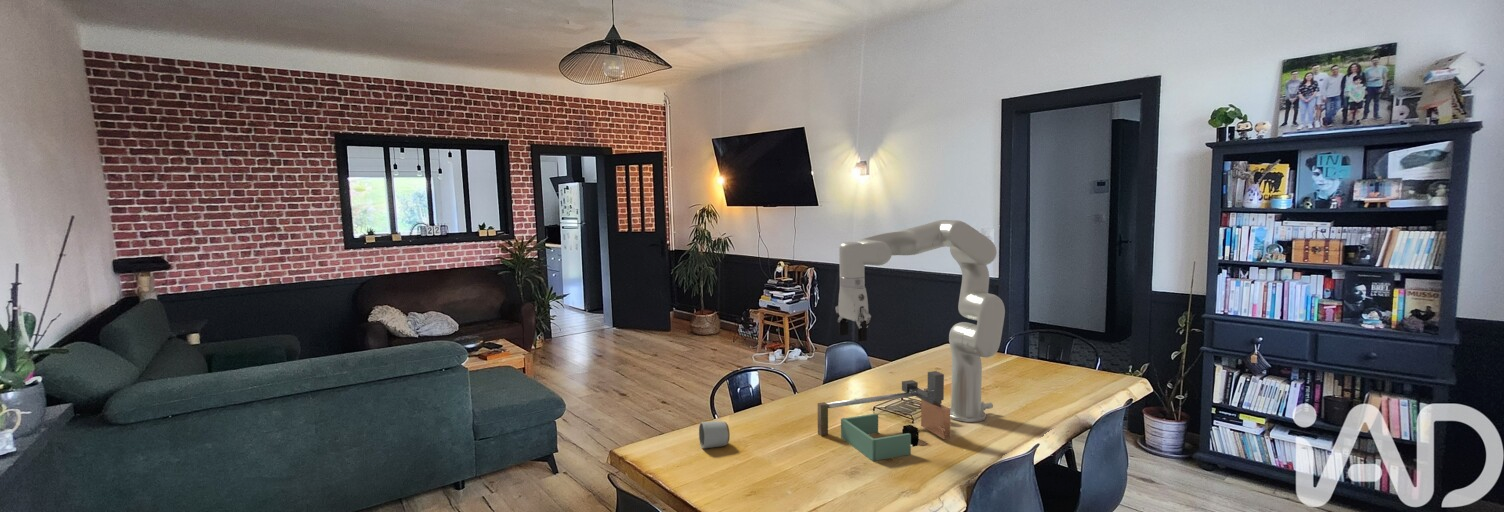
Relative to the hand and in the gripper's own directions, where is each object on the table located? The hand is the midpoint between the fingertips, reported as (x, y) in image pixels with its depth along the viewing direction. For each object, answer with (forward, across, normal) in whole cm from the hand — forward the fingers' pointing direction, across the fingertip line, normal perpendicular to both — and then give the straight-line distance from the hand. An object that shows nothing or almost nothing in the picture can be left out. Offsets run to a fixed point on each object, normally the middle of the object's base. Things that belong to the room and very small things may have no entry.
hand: (852, 337), depth 197 cm
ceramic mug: (+31, +14, +42) cm, 54 cm away
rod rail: (+31, +3, -11) cm, 33 cm away
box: (+31, -10, -1) cm, 32 cm away
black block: (+32, -12, -13) cm, 36 cm away
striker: (+30, -8, -22) cm, 38 cm away
